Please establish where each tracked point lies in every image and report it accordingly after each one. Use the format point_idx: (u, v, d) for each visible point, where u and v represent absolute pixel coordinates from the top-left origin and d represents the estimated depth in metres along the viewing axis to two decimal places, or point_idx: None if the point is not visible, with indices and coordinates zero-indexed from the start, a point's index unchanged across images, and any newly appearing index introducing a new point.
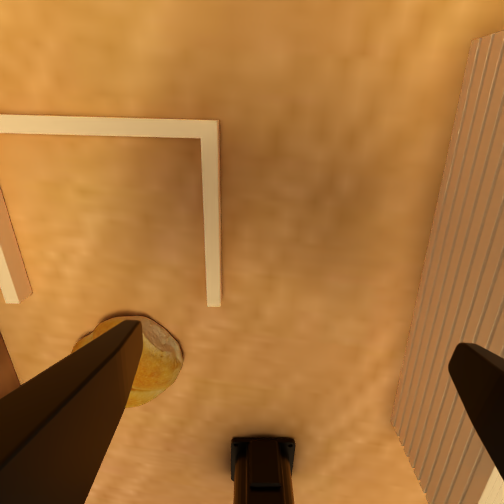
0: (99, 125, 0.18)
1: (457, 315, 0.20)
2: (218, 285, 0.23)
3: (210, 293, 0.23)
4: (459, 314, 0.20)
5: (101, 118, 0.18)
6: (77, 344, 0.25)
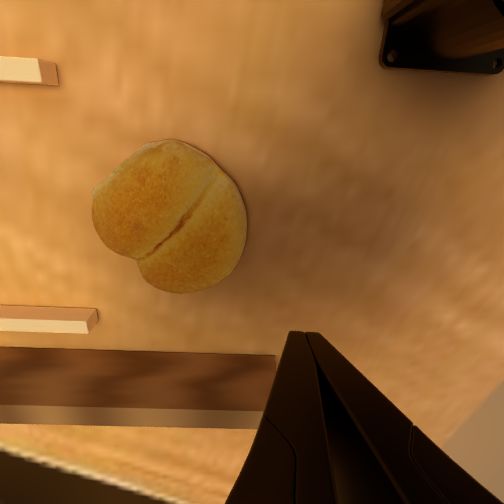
0: None
1: None
2: None
3: (15, 74, 0.15)
4: None
5: None
6: None
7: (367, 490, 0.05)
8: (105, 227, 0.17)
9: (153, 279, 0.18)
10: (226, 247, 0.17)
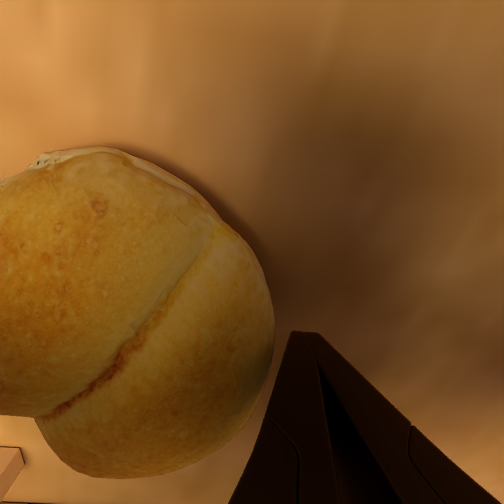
0: None
1: None
2: None
3: None
4: None
5: None
6: None
7: (365, 490, 0.05)
8: None
9: (61, 459, 0.08)
10: (228, 409, 0.07)
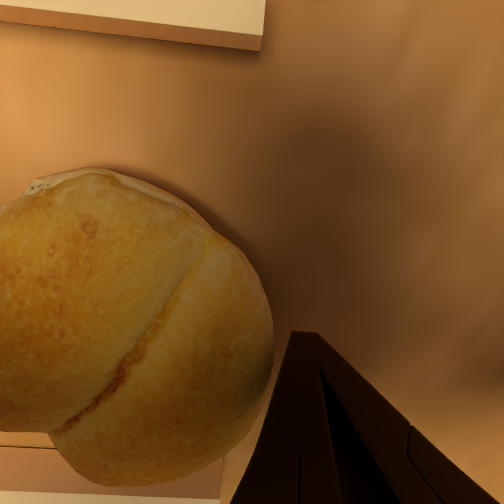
0: None
1: None
2: None
3: (196, 8, 0.05)
4: None
5: None
6: None
7: (364, 489, 0.05)
8: None
9: (76, 471, 0.08)
10: (231, 415, 0.07)
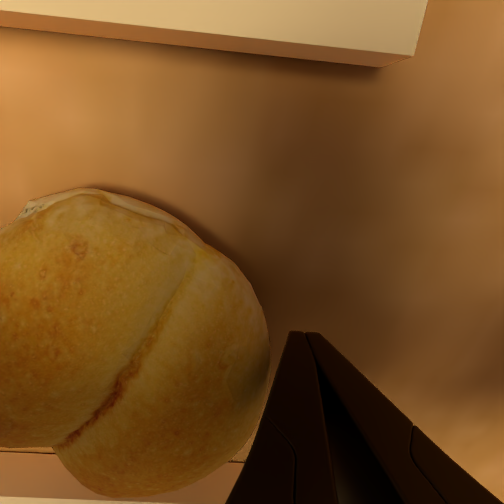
0: None
1: None
2: None
3: (353, 30, 0.05)
4: None
5: None
6: None
7: (367, 490, 0.05)
8: None
9: (81, 483, 0.09)
10: (228, 424, 0.07)
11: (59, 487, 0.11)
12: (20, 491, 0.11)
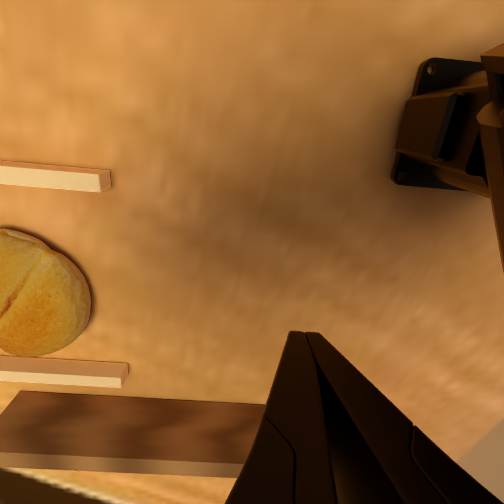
0: None
1: None
2: (64, 173, 0.17)
3: (78, 185, 0.17)
4: None
5: None
6: None
7: (367, 490, 0.05)
8: None
9: None
10: (55, 319, 0.19)
11: (5, 367, 0.23)
12: None
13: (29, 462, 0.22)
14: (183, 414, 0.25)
